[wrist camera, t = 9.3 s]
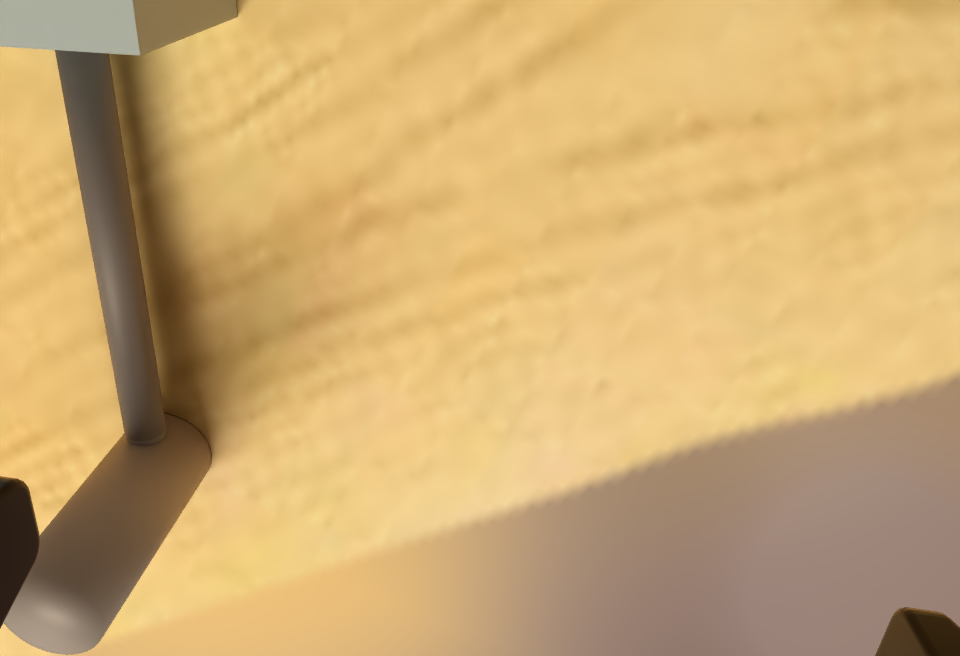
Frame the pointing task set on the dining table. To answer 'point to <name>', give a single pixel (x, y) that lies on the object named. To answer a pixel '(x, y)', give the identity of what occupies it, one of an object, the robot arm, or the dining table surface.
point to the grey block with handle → (109, 331)
